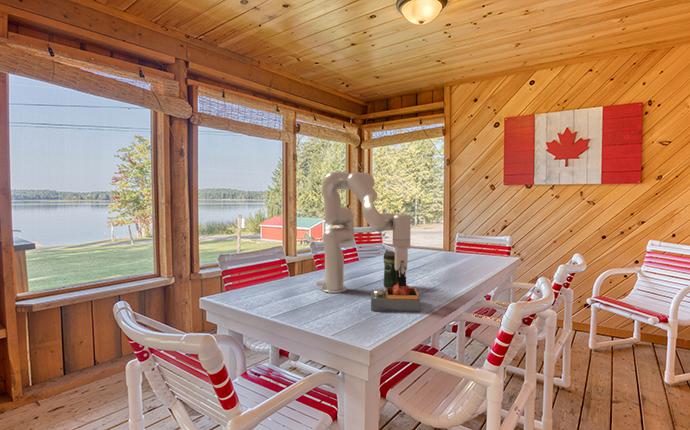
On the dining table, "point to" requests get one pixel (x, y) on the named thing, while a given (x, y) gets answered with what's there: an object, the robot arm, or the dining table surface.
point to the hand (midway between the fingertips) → (401, 283)
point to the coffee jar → (389, 270)
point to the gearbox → (394, 301)
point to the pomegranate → (401, 290)
